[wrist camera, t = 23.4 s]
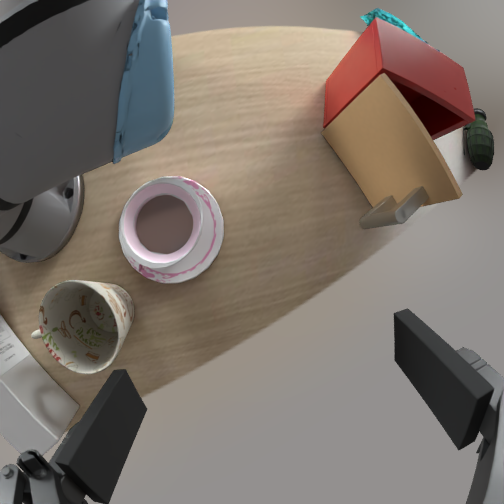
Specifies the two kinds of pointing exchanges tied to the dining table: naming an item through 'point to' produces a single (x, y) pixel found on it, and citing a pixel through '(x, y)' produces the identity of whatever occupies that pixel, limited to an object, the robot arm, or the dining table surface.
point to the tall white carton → (29, 398)
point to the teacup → (171, 229)
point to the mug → (85, 323)
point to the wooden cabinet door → (390, 155)
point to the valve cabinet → (402, 78)
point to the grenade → (480, 141)
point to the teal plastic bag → (389, 21)
